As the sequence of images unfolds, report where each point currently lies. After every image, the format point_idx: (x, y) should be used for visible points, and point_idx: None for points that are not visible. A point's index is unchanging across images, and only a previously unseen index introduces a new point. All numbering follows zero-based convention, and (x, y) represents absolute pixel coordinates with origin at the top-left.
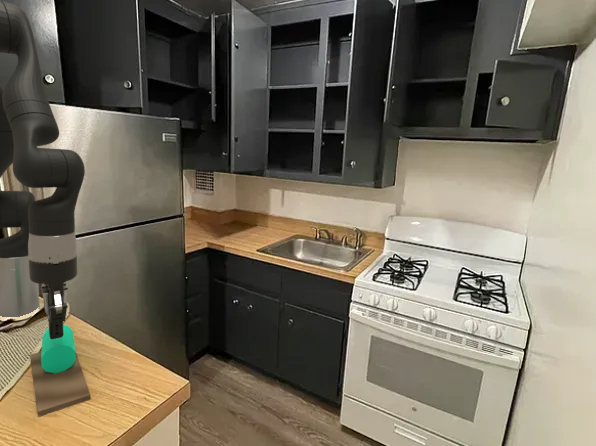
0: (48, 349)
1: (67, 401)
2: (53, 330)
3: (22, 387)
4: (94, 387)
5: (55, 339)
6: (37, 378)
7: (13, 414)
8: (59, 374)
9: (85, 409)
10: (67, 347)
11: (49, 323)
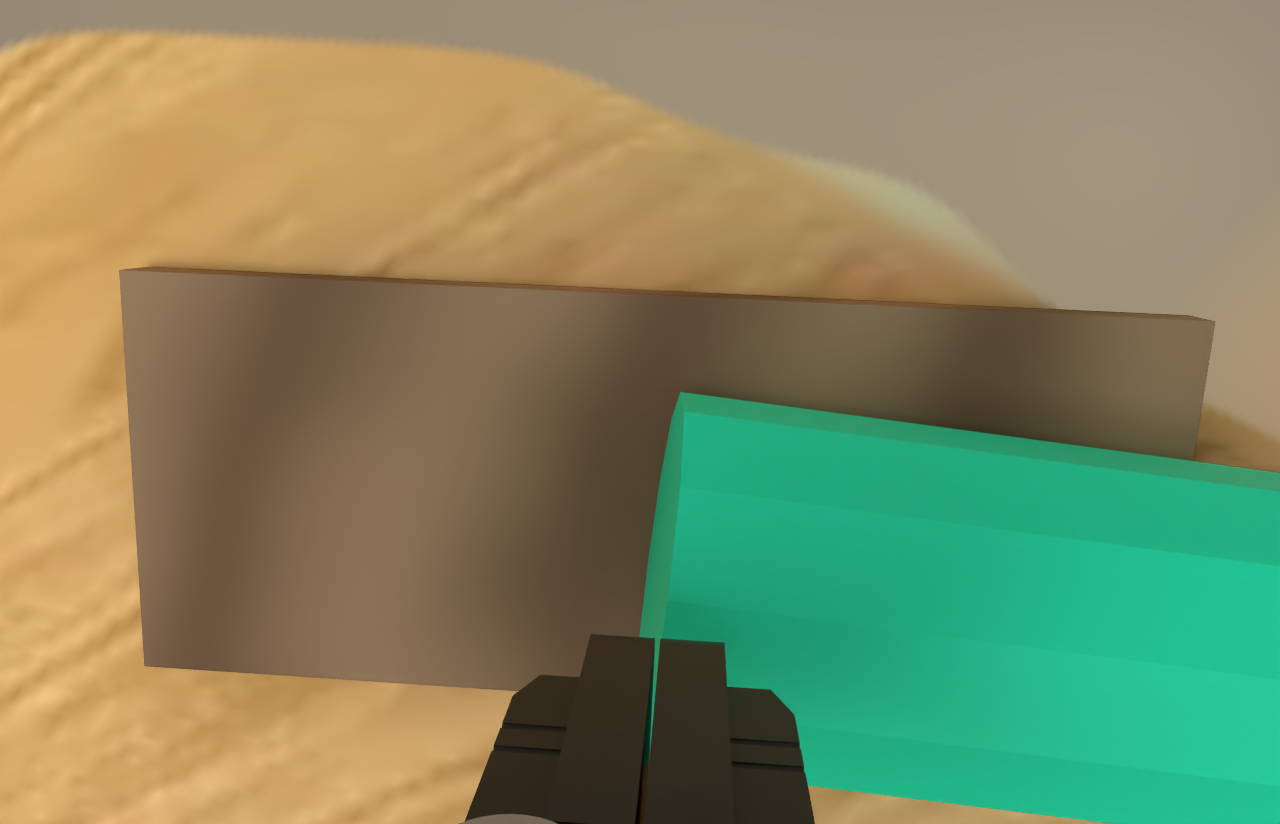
0: (697, 528)
1: (144, 495)
2: (491, 771)
3: (666, 198)
4: (320, 709)
5: (907, 652)
6: (662, 330)
7: (283, 99)
8: (611, 512)
9: (62, 585)
10: None
11: (547, 808)
